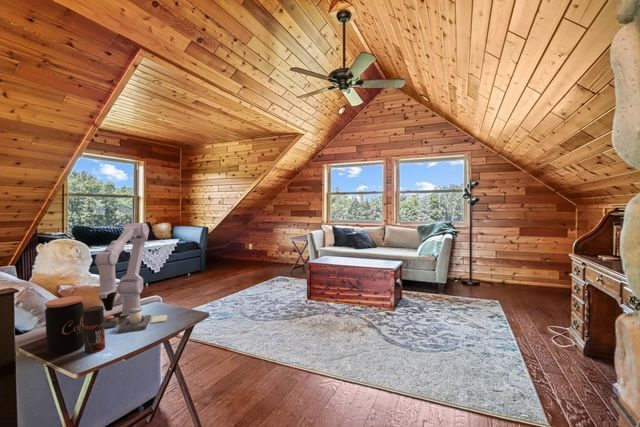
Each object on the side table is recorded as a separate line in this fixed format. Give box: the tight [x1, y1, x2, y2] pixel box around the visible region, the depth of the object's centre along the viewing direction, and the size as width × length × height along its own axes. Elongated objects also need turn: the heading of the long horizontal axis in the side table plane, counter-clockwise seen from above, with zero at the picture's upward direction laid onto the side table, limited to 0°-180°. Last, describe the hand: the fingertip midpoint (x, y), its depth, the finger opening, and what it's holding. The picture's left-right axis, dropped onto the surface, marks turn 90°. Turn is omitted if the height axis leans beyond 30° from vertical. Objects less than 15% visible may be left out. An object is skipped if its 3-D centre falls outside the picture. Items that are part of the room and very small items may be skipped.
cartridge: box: [128, 306, 142, 325], centre depth 133 cm, size 5×5×7 cm
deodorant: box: [83, 305, 106, 354], centre depth 111 cm, size 6×6×15 cm
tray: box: [150, 314, 168, 324], centre depth 140 cm, size 8×6×1 cm
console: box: [104, 316, 120, 329], centre depth 133 cm, size 5×6×2 cm
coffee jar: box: [44, 295, 85, 356], centre depth 112 cm, size 11×11×18 cm
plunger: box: [104, 315, 115, 322], centre depth 133 cm, size 3×3×3 cm
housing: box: [117, 314, 152, 334], centre depth 134 cm, size 14×10×2 cm
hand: (109, 310), depth 133 cm, fingers closed
